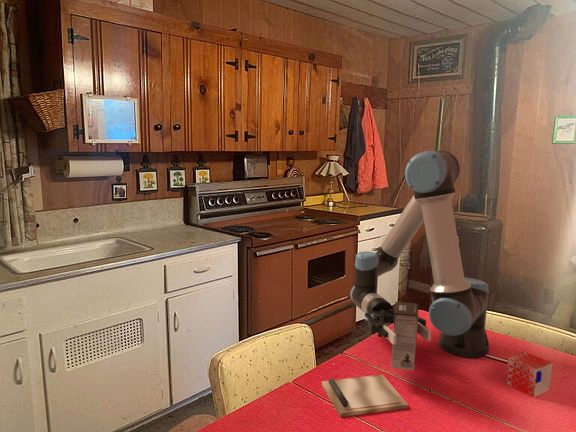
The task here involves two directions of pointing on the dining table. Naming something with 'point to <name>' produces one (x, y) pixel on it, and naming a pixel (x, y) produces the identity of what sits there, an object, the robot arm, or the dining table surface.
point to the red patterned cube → (528, 373)
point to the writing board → (363, 395)
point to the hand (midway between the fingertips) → (412, 338)
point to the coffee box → (405, 335)
